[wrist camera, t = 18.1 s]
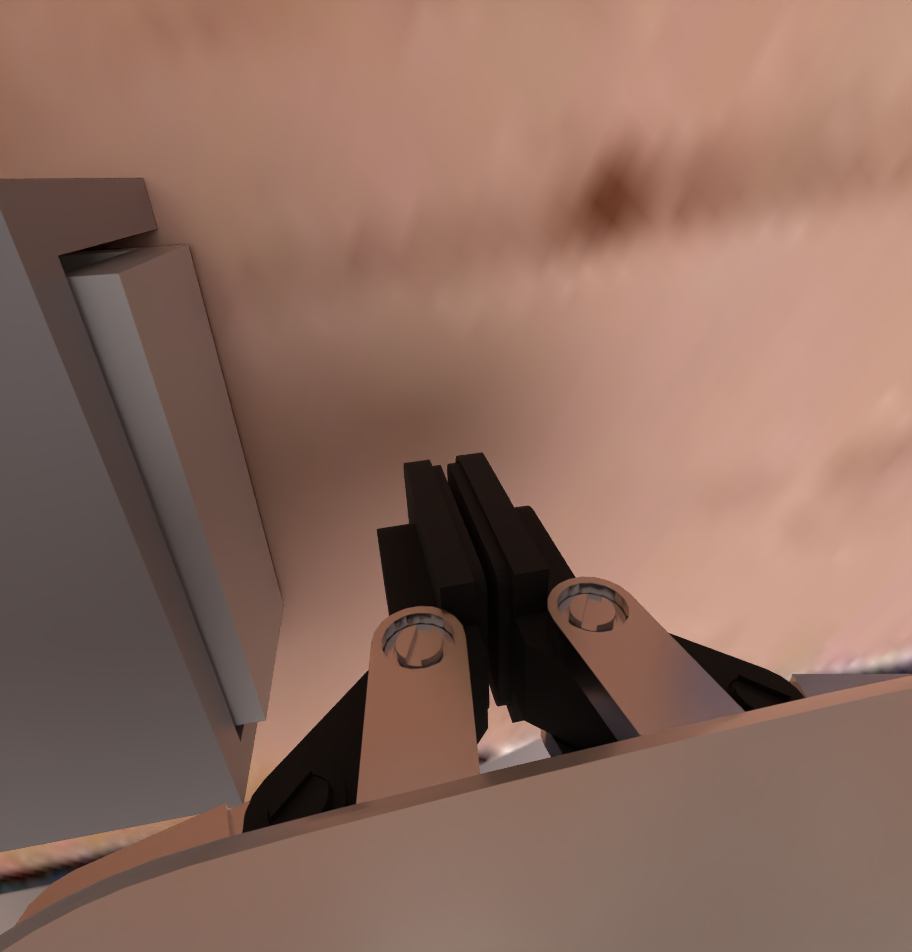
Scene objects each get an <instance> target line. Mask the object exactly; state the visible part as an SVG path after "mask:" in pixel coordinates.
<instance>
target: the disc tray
mask: <svg viewBox="0 0 912 952" xmlns="http://www.w3.org/2000/svg"><path fill="white" fill-rule="evenodd" d="M58 257H59V260H60V262H61V265H62V268H63V270H64V273H65V276H66V278H67V281H68V284H69V286H70V289H71V292H72V294H73V297H74V300H75V302H76V305H77V308H78V310H79V313H80V316H81V318H82V321H83V324H84V326H85V329H86V332H87V334H88V337H89V340H90V342H91V345H92V348H93V350H94V353H95V356H96V358H97V361H98V364H99V366H100V369H101V372H102V374H103V377H104V380H105V382H106V385H107V388H108V390H109V393H110V396H111V398H112V401H113V404H114V406H115V409H116V412H117V414H118V417H119V420H120V422H121V425H122V428H123V430H124V433H125V436H126V438H127V441H128V444H129V446H130V449H131V451H132V454H133V457H134V459H135V462H136V465H137V467H138V470H139V473H140V475H141V478H142V481H143V483H144V486H145V489H146V491H147V494H148V497H149V499H150V502H151V505H152V507H153V510H154V513H155V515H156V518H157V521H158V523H159V526H160V529H161V531H162V534H163V537H164V539H165V542H166V545H167V547H168V550H169V553H170V555H171V558H172V561H173V563H174V566H175V569H176V571H177V574H178V577H179V579H180V582H181V585H182V587H183V590H184V593H185V595H186V598H187V601H188V603H189V606H190V609H191V611H192V614H193V617H194V619H195V622H196V625H197V627H198V630H199V633H200V635H201V638H202V641H203V643H204V646H205V649H206V651H207V654H208V657H209V659H210V662H211V665H212V667H213V670H214V673H215V675H216V678H217V681H218V683H219V686H220V689H221V691H222V694H223V697H224V699H225V702H226V705H227V707H228V710H229V713H230V715H231V718H232V721H233V723H234V726H236V725H242V724H248V723H253V722H259V721H265V720H266V716H267V710H268V703H269V697H270V690H271V684H272V677H273V671H274V664H275V657H276V651H277V644H278V638H279V631H280V625H281V618H282V612H283V602H282V598H281V594H280V591H279V587H278V583H277V579H276V575H275V572H274V568H273V564H272V560H271V556H270V553H269V549H268V545H267V541H266V538H265V534H264V530H263V526H262V522H261V519H260V515H259V511H258V507H257V503H256V500H255V496H254V492H253V488H252V485H251V481H250V477H249V473H248V469H247V466H246V462H245V458H244V454H243V450H242V447H241V443H240V439H239V435H238V432H237V428H236V424H235V420H234V416H233V413H232V409H231V405H230V401H229V397H228V394H227V390H226V386H225V382H224V379H223V375H222V371H221V367H220V363H219V360H218V356H217V352H216V348H215V344H214V341H213V337H212V333H211V329H210V326H209V322H208V318H207V314H206V310H205V307H204V303H203V299H202V295H201V291H200V288H199V284H198V280H197V276H196V273H195V269H194V265H193V261H192V257H191V254H190V250H189V246H188V244H187V245H172V246H156V247H141V248H126V249H111V250H95V251H80V252H70V253H66V254H62V255H59V256H58Z"/></svg>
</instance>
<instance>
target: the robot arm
mask: <svg viewBox="0 0 912 952" xmlns="http://www.w3.org/2000/svg"><path fill="white" fill-rule="evenodd" d="M447 475H448V482H447V479H446V477H445V474H444V472H443V470H442V467H441V465H437V466H432V464H431V462H430V460H424V461H416V462H409V463H404V478H405V488H406V497H407V507H408V517H409V524H406V525H399V526H393V527H386V528H380V529H377V535H378V543H379V550H380V557H381V564H382V571H383V578H384V585H385V592H386V599H387V605H388V612H389V617H388V618H387V619H385V620H384V621H383V622H382V623H381V624H380V625H379V627H378V628H377V629H376V631H375V632H374V636H373V639H372V642H371V652H370V663H369V670H368V671H367V672H366V673H365V674H364V675H363V676H362V677H361V679H360V680H359V681H358V682H357V683H356V684H355V685H354V686H353V687H352V688H351V689H350V690H349V691H348V692H347V693H346V694H345V695H344V696H343V697H342V699H341V700H340V701H339V702H338V703H337V704H336V705H335V706H334V707H333V708H332V709H331V710H330V711H329V712H328V713H327V714H326V715H325V716H324V718H323V719H322V720H321V721H320V722H319V723H318V724H317V725H316V726H315V727H314V728H313V729H312V730H311V731H310V732H309V733H308V734H307V735H306V736H305V738H304V739H303V740H302V741H301V742H300V743H299V744H298V745H297V746H296V747H295V748H294V749H293V750H292V751H291V752H290V753H289V754H288V755H287V757H286V758H285V759H284V760H283V761H282V762H281V763H280V764H279V765H278V766H277V767H276V768H275V769H274V770H273V771H272V772H271V773H270V774H269V775H268V777H267V778H266V779H265V780H264V781H263V782H262V784H261V785H260V786H259V788H258V789H257V790H256V792H255V793H254V794H253V796H252V798H251V800H250V801H248V802H246V803H243V804H241V805H239V806H237V807H234V808H232V809H230V810H229V809H228V807H227V804H226V803H224V804H222V805H220V806H218V807H215V808H213V809H211V810H209V811H206V812H204V813H202V814H200V815H197V816H195V817H193V818H191V819H188V820H186V821H184V822H182V823H179V824H177V825H175V826H173V827H170V828H168V829H166V830H164V831H161V832H159V833H157V834H155V835H153V836H150V837H148V838H146V839H144V840H141V841H139V842H137V843H135V844H132V845H130V846H128V847H126V848H123V849H121V850H119V851H117V852H114V853H112V854H110V855H108V856H105V857H103V858H101V859H99V860H96V861H94V862H92V863H90V864H88V865H85V866H83V867H81V868H79V869H76V870H74V871H72V872H71V873H69V874H67V875H66V876H64V877H62V878H61V879H59V880H57V881H56V882H54V883H52V884H51V885H50V886H49V887H48V888H47V889H45V891H43V893H41V894H40V895H39V896H38V897H37V898H36V899H35V900H34V901H33V902H32V903H31V904H30V905H29V906H28V907H27V909H26V910H25V912H24V913H23V915H22V916H21V918H20V919H19V921H18V922H17V924H16V925H15V926H14V927H13V928H11V929H9V930H8V931H6V932H5V933H3V934H1V935H0V952H912V674H792V677H791V679H790V682H788V681H787V680H786V679H784V678H783V677H781V676H779V675H777V674H775V673H773V672H771V671H769V670H767V669H765V668H762V667H759V666H757V665H754V664H751V663H748V662H746V661H743V660H740V659H738V658H735V657H732V656H730V655H727V654H724V653H721V652H719V651H716V650H713V649H711V648H708V647H705V646H702V645H700V644H697V643H694V642H692V641H689V640H686V639H683V638H681V637H678V636H675V635H673V634H670V633H668V632H667V631H666V630H665V629H664V628H663V627H662V626H661V625H660V624H659V623H658V622H657V621H656V620H655V619H654V618H653V617H652V616H651V615H650V614H649V613H648V612H647V611H646V610H645V609H644V608H643V607H642V606H641V605H640V603H639V602H638V601H637V600H636V599H635V598H634V597H633V596H632V595H631V594H630V593H628V592H627V591H626V590H624V589H623V588H622V587H621V586H619V585H617V584H614V583H612V582H610V581H608V580H604V579H600V578H595V577H578V578H576V577H575V576H574V574H573V573H572V571H571V569H570V568H569V566H568V565H567V563H566V561H565V560H564V558H563V557H562V555H561V553H560V552H559V550H558V549H557V547H556V545H555V544H554V542H553V541H552V539H551V537H550V536H549V534H548V533H547V531H546V529H545V528H544V526H543V525H542V523H541V521H540V520H539V518H538V517H537V515H536V513H535V512H534V510H533V509H532V508H531V507H530V506H522V507H515V508H514V506H513V505H512V503H511V501H510V499H509V498H508V496H507V494H506V492H505V491H504V489H503V487H502V485H501V484H500V482H499V480H498V478H497V477H496V475H495V473H494V471H493V470H492V468H491V466H490V464H489V463H488V461H487V459H486V457H485V456H484V454H483V453H475V454H468V455H460V456H456V463H451V464H448V465H447ZM489 685H490V688H491V691H492V694H493V697H494V700H495V703H496V705H497V706H503V705H507V708H508V711H509V714H510V717H511V720H512V723H514V722H519V721H523V720H524V721H526V722H528V723H530V724H532V725H534V726H536V727H538V728H540V729H541V738H542V740H543V743H544V745H545V747H546V749H547V751H548V753H549V755H550V756H551V757H550V758H546V759H542V760H538V761H534V762H529V763H525V764H521V765H517V766H513V767H508V768H504V769H500V770H496V771H492V772H487V773H483V774H480V768H479V759H478V749H477V744H478V743H479V741H480V740H481V738H482V737H483V735H484V734H485V732H486V731H487V729H488V709H489Z"/></svg>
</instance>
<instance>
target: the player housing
mask: <svg viewBox="0 0 912 952" xmlns="http://www.w3.org/2000/svg"><path fill="white" fill-rule="evenodd" d="M155 229H157V226H156V222H155V219H154V215H153V212H152V208H151V205H150V201H149V198H148V194H147V191H146V187H145V184H144V180H143V178H60V179H0V852H4V851H9V850H14V849H20V848H25V847H30V846H35V845H40V844H46V843H51V842H56V841H61V840H66V839H72V838H77V837H82V836H87V835H93V834H98V833H103V832H108V831H113V830H119V829H124V828H129V827H134V826H140V825H145V824H150V823H155V822H160V821H166V820H171V819H176V818H181V817H187V816H192V815H197V814H202V813H204V812H206V811H209V810H211V809H213V808H215V807H218V806H220V805H222V804H224V803H226V804H227V807H228V808H234V807H237V806H239V805H241V804H243V803H244V799H245V793H246V787H247V781H248V775H249V769H250V763H251V757H252V751H253V746H254V740H255V734H256V728H257V722H253V723H248V724H242V725H236V726H234V723H233V721H232V718H231V715H230V713H229V710H228V707H227V705H226V702H225V699H224V697H223V694H222V691H221V689H220V686H219V683H218V681H217V678H216V675H215V673H214V670H213V667H212V665H211V662H210V659H209V657H208V654H207V651H206V649H205V646H204V643H203V641H202V638H201V635H200V633H199V630H198V627H197V625H196V622H195V619H194V617H193V614H192V611H191V609H190V606H189V603H188V601H187V598H186V595H185V593H184V590H183V587H182V585H181V582H180V579H179V577H178V574H177V571H176V569H175V566H174V563H173V561H172V558H171V555H170V553H169V550H168V547H167V545H166V542H165V539H164V537H163V534H162V531H161V529H160V526H159V523H158V521H157V518H156V515H155V513H154V510H153V507H152V505H151V502H150V499H149V497H148V494H147V491H146V489H145V486H144V483H143V481H142V478H141V475H140V473H139V470H138V467H137V465H136V462H135V459H134V457H133V454H132V451H131V449H130V446H129V444H128V441H127V438H126V436H125V433H124V430H123V428H122V425H121V422H120V420H119V417H118V414H117V412H116V409H115V406H114V404H113V401H112V398H111V396H110V393H109V390H108V388H107V385H106V382H105V380H104V377H103V374H102V372H101V369H100V366H99V364H98V361H97V358H96V356H95V353H94V350H93V348H92V345H91V342H90V340H89V337H88V334H87V332H86V329H85V326H84V324H83V321H82V318H81V316H80V313H79V310H78V308H77V305H76V302H75V300H74V297H73V294H72V292H71V289H70V286H69V284H68V281H67V278H66V276H65V273H64V270H63V268H62V265H61V262H60V260H59V257H58V256H59V255H62V254H66V253H70V252H73V251H77V250H81V249H85V248H88V247H92V246H96V245H99V244H103V243H107V242H110V241H114V240H118V239H121V238H125V237H129V236H133V235H136V234H140V233H144V232H147V231H151V230H155Z"/></svg>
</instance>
